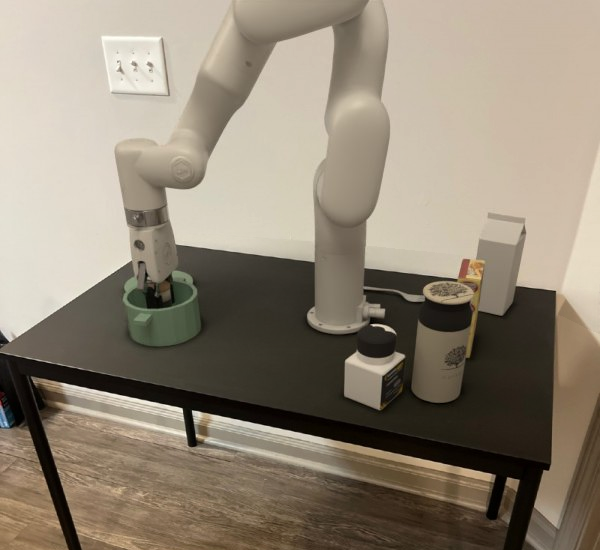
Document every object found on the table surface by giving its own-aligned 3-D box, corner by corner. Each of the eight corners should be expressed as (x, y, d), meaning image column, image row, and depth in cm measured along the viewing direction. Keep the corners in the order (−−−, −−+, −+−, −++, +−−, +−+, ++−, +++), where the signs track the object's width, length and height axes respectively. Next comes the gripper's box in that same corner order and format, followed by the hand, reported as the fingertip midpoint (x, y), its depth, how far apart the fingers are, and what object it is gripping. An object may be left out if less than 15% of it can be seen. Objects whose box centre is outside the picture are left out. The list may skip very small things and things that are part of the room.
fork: (337, 281, 138) (337, 274, 136) (442, 301, 128) (443, 293, 127) (331, 286, 135) (331, 279, 134) (437, 307, 126) (438, 299, 125)
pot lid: (203, 277, 141) (200, 253, 138) (178, 305, 129) (174, 280, 125) (142, 272, 144) (138, 248, 140) (113, 299, 132) (107, 274, 128)
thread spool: (176, 307, 119) (173, 280, 116) (168, 317, 116) (164, 290, 113) (156, 305, 120) (151, 278, 117) (146, 315, 117) (142, 288, 113)
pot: (215, 310, 127) (211, 276, 122) (180, 357, 111) (175, 320, 107) (153, 304, 129) (147, 271, 125) (110, 349, 114) (102, 313, 109)
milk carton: (502, 316, 122) (520, 223, 111) (468, 309, 125) (482, 217, 114) (512, 303, 127) (530, 213, 116) (479, 296, 130) (493, 207, 119)
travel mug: (403, 381, 103) (413, 283, 93) (447, 374, 105) (461, 277, 94) (422, 407, 97) (434, 305, 86) (468, 400, 98) (485, 298, 88)
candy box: (470, 359, 109) (483, 279, 100) (446, 356, 110) (457, 276, 101) (474, 336, 116) (486, 259, 107) (451, 333, 117) (462, 257, 108)
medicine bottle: (380, 412, 96) (385, 346, 89) (343, 397, 100) (344, 332, 93) (402, 391, 101) (408, 327, 94) (366, 377, 104) (369, 315, 97)
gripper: (147, 232, 100) (162, 330, 110) (184, 202, 113) (195, 292, 124) (105, 229, 101) (124, 326, 112) (147, 199, 115) (161, 289, 125)
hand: (161, 307), depth 117 cm, fingers closed on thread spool, 4 cm apart
